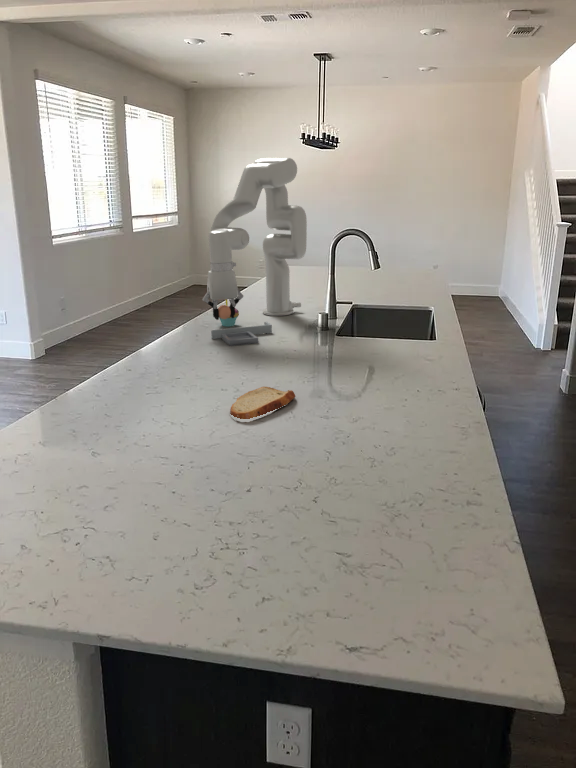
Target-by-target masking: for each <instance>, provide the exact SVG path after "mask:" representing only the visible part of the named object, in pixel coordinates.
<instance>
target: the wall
mask: <svg viewBox="0 0 576 768" xmlns="http://www.w3.org/2000/svg"><path fill="white" fill-rule="evenodd" d="M263 323H264V324H261V325H251V326H239V327H228V328H219V329H218V328H217V329H211V330H210V335H211V336H210V338H211V340H214V339H215V340H217V339H222V335H221V334H227V333H238V332H248V331H249V332H251V333H252V334H257V335H264V334H263V333H267V334H272V333H273V326H272V323H269V322H268V321H263Z"/></svg>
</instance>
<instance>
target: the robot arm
mask: <svg viewBox="0 0 576 768" xmlns="http://www.w3.org/2000/svg"><path fill="white" fill-rule="evenodd" d="M297 173H298V165H297V163H296V161H295V160H294V159H293V158H291V157H263V158H259V159H256V160H255V161H254V162H253V163H251V164H247V165H246V166H245V167H244V168H243V170H242V174H241V177H240V179H239V182H238V184H237V187H236V190H235V194H234V197H233V199H231V200H230V201H229V202H228V203H227V204H226V205H225V206H223V208H221V210H219V211H218V213H217V214H216V216H215V218H214V219H213V222H212V225H211V228H210V231H209V233H208V248H209V262H210V270H208V272H207V283H206V284H207V286H206V289H207V292H206V293H205V295H204V296H203V297H202V301H203V302H205V303H206V304H208V305H209V306H210V307H212V316H213V318H214V319H215V320H216V321H218V320H220V319H219V313H218V304H219V303H218V302H219V301H226V300H227V301H228V302H229V305H228V306H229V308H230V309H231V315H230V317H231V318H234V315H235V308H236V306H237V304H238V303H239V302H240V301H242V299H243V298H244V294H243V293H242V292H241V291H240V290H239V288H238V281H237V277H236V272H235V270H234V269H233V268H234V267H236V266H237V262H233V259H232V258H233V257H232V251H236V250H237V251H240V250H243V249H245V248H247V246H248V245H249V243H250V235H249V232H248V231H247V230H246V229H244V228H241V227H231V226H230V225H231V223H232V222H233V221H235V220H237V219H238V218H241V217H242V216H246V215H247V214H249V213H252V212H253V211H255V210H256V208H257V205H258V202H259V199H260V197H261V193H262V191H263V189H264V192H265V205H266V206H265V208H266V209H265V210H266V211H265V212H266V213H265V214H266V215H265V216H266V225H267V227H268V229H270V230H273V231H287V232H288V231H289V232H290V233H270V234H268V235H266V236H265V237H264V238H263V241H262V251H263V256H264V262H265V289H266V290H265V291H266V293H265V294H266V295H265V296H266V307H265V308H263V310H262V314H264V315H267V316H273V317H274V316H275V317H276V316H277V317H280V316H282V317H283V316H289V315H292V314H294V308H301V307H302V302H294V301H293V302H292V301H291V299H290V296H291V295H290V293H291V292H290V291H291V290H290V289H291V288H290V287H291V285H290V279H291V278H290V277H291V276H290V275H291V274H290V272H291V270H290V267H289V264H288V262H287V261H286V260H301V259H302V258H304V257H305V255H306V252H307V235H308V234H307V233H308V231H307V226H308V223H307V222H308V220H307V214H306V211H305V209H304V208H303V207H302V206H300V205H297V204H296V205H294V204H291V205H290V204H289V195H288V194H289V192H288V189H287V187H286V185H287V184H289V183H291V182H292V181H294V180H295V178H296V176H297ZM209 299H210V300H209Z"/></svg>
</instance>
